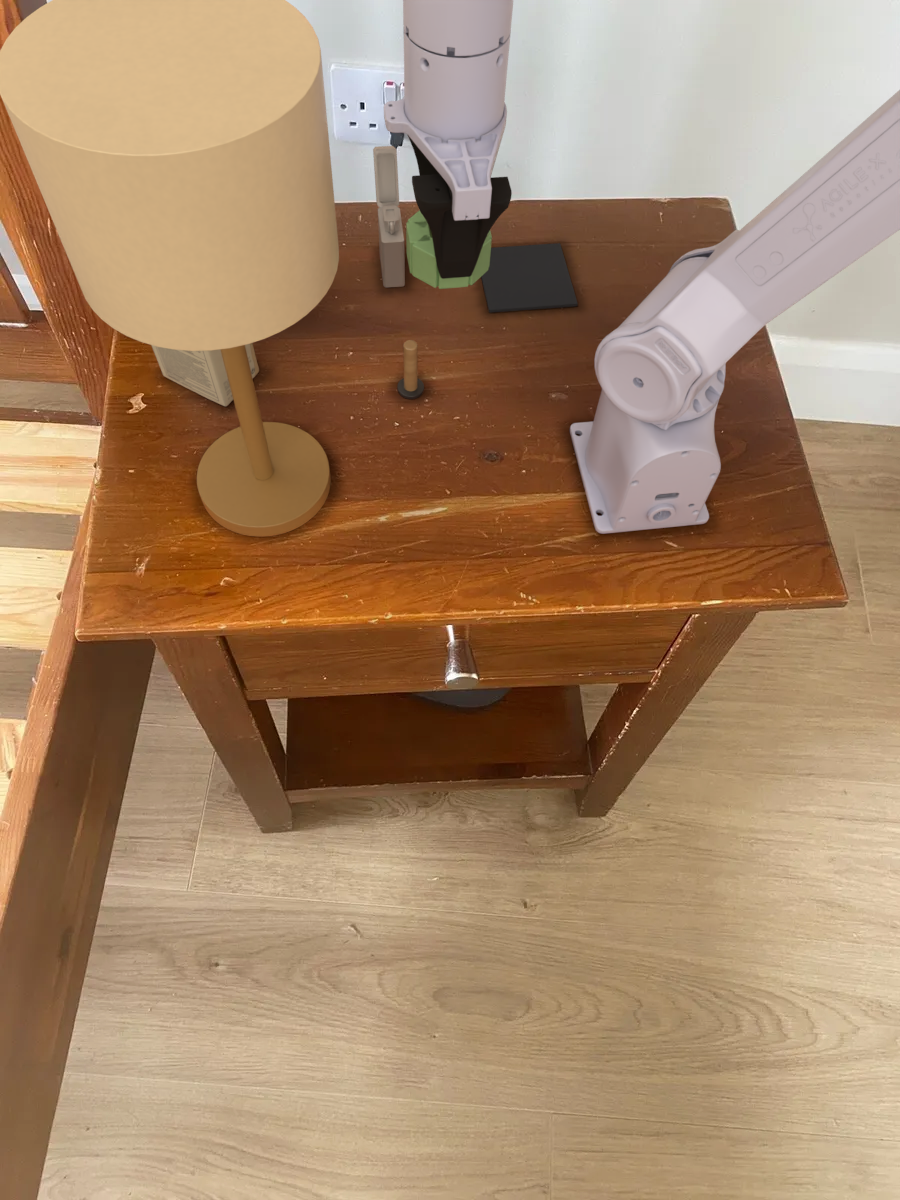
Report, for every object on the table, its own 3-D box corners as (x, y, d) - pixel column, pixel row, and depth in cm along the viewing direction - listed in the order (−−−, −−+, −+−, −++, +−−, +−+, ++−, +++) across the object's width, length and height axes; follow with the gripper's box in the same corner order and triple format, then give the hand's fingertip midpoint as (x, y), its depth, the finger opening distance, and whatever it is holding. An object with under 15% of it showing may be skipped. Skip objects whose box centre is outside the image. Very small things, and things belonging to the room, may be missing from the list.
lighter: (405, 286, 71) (403, 198, 64) (383, 287, 71) (380, 199, 64) (397, 227, 75) (395, 138, 68) (376, 228, 75) (372, 139, 68)
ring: (493, 285, 59) (496, 254, 57) (413, 291, 58) (413, 260, 56) (480, 231, 61) (483, 199, 59) (403, 236, 61) (403, 205, 59)
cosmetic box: (261, 372, 66) (232, 235, 56) (225, 411, 64) (187, 276, 54) (194, 339, 68) (153, 199, 57) (156, 376, 66) (107, 238, 55)
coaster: (577, 306, 71) (577, 303, 71) (488, 312, 70) (489, 310, 70) (559, 245, 74) (560, 242, 74) (475, 251, 74) (475, 248, 73)
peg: (425, 398, 66) (426, 353, 62) (398, 400, 66) (397, 356, 62) (422, 378, 67) (422, 333, 63) (396, 380, 66) (394, 335, 63)
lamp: (367, 552, 59) (331, 145, 34) (169, 571, 58) (-24, 164, 32) (351, 404, 65) (311, -34, 40) (171, 418, 64) (12, -24, 39)
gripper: (368, -41, 50) (377, 176, 62) (397, 113, 43) (401, 325, 55) (491, -46, 51) (476, 170, 62) (539, 106, 44) (513, 316, 56)
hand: (448, 242), depth 59 cm, fingers closed on ring, 5 cm apart
